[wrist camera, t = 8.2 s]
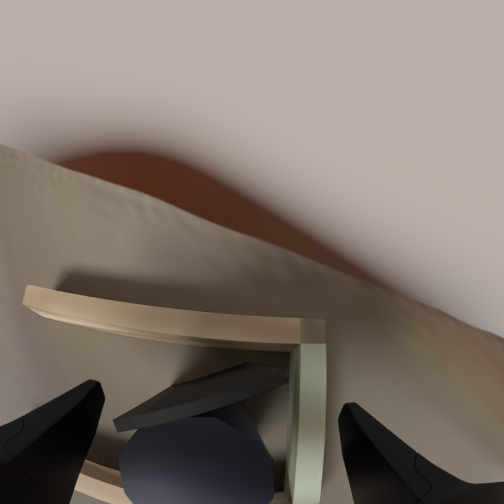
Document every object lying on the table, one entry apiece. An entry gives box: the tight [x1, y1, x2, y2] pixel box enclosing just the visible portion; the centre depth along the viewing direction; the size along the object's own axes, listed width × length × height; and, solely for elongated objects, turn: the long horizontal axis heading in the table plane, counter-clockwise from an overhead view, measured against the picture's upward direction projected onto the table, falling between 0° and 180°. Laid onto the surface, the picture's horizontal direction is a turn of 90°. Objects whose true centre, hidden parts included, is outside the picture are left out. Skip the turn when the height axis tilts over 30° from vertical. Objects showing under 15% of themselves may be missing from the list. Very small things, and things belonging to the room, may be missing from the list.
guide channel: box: [22, 285, 326, 504], centre depth 13 cm, size 13×20×3 cm, turn 87°
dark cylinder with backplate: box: [113, 362, 289, 504], centre depth 10 cm, size 8×6×10 cm
